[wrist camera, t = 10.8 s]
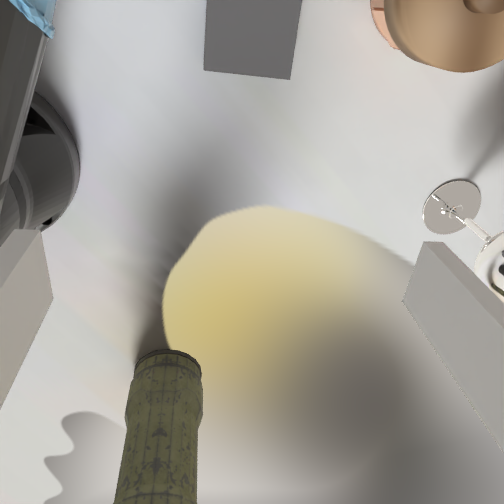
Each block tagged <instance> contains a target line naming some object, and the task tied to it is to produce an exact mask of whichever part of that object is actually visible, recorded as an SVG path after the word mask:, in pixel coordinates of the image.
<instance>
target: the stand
mask: <svg viewBox="0 0 504 504" xmlns="http://www.w3.org/2000/svg"><path fill="white" fill-rule="evenodd" d="M301 3H302V0H207V9H206V29H205V48H204V70H205V71H214V72H223V73H232V74H242V75H251V76H260V77H269V78H278V79H287V80H290V76H291V69H292V63H293V56H294V49H295V43H296V36H297V29H298V23H299V16H300V10H301Z"/></svg>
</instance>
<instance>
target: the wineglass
mask: <svg viewBox="0 0 504 504" xmlns="http://www.w3.org/2000/svg"><path fill="white" fill-rule="evenodd" d="M480 204H481V195H480V192H479V190H478V189H477V187H476V186H474V185H473V184H472V183H469V182H467V181H452V182H449V183H446V184H444V185H442V186H441V187H439V188H438V189H436V190H435V191H434V192H433V193H432V194H431V195H430V197H429V198H428V199H427V201H426V203H425V205H424V208H423V221H424V224H425V226H426V227H427V228H428V229H429V230H430V231H432V232H434V233H437V234H451V233H454V232H457V231H459V230H461V229H463V228H464V227H466V226H467V227H468V228H470V229H471V230H472V231H473V232H474V233H475V234H477V235H478V236H479V237H480V238H481V239H482V240H483V241H484V242H485V244H484V245H483V247H482V248H481V250H480V251H479V253H478V255H477V258H476V261H475V264H474V274H475V275H476V276H477V277H478V278H479V279H480V280H481V281H482V282H483V283H484V284H485V285H486V286H487V287H488V288H489V289H490V290H491V291H492V292H493V293H494V294H495V295H496V296H497V297H498V298H499V299H500V300H501V301H502V302H503V303H504V230H503V231H501V232H499V233H497V234H496V235H494V236H491V235H490V234H489V233H488V232H486V231H485V230H484V229H483V228H481V227H480V226H479V225H478V224H477V223H475V222H474V221H473V219H474V218H475V216H476V215H477V213H478V211H479V208H480Z"/></svg>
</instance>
